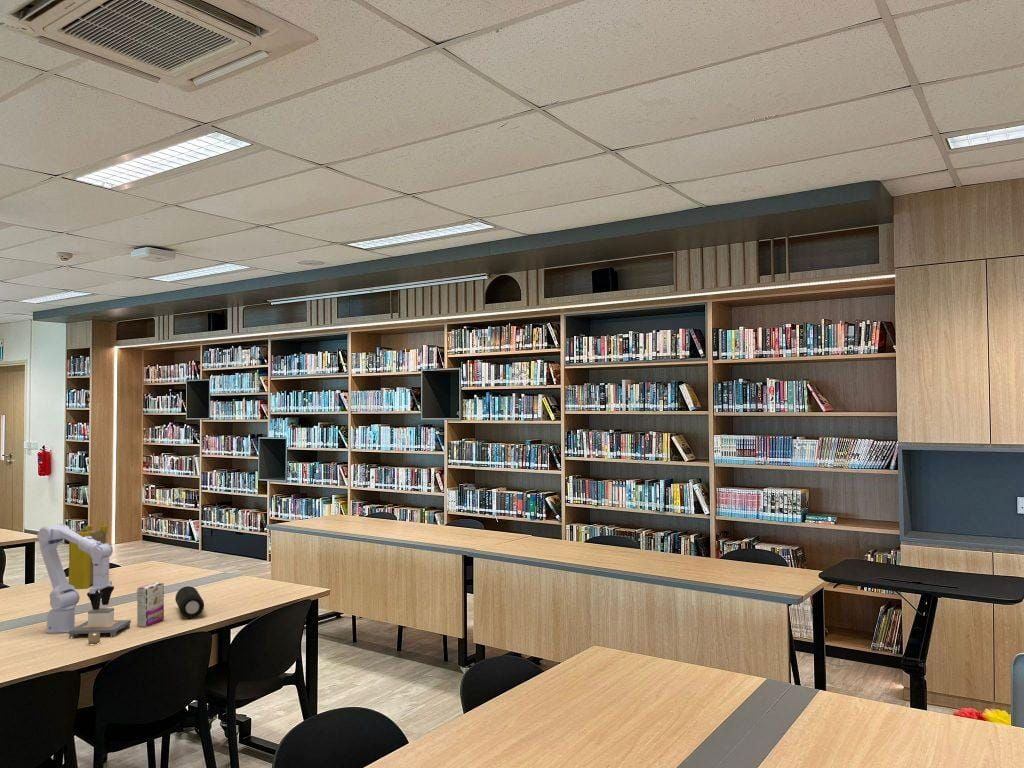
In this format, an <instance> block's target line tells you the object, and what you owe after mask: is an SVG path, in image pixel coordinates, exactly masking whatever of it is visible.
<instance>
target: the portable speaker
mask: <svg viewBox="0 0 1024 768" xmlns="http://www.w3.org/2000/svg"><path fill="white" fill-rule="evenodd" d="M175 603H176V605H177V607H178V609H179V612H180V613H181V615H182V616H183V617H184V618H187V619H195V618H197V617H199V616H200V615H201V614H202V612H203V611H204V609H205V602H204V599H203V598H202V596H201V595H200V593H199V591H198V589H196V588H195V587H193V586H188V585H187V586H184V587H181V588H180V589H179V590H178V591H177V592H176V594H175ZM194 617H195V618H194Z"/></svg>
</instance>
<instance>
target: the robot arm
mask: <svg viewBox="0 0 1024 768" xmlns="http://www.w3.org/2000/svg"><path fill="white" fill-rule="evenodd" d="M76 532H77V531H74V530H72V529H71V528H70V526H69V525H67V524H64V523H59V524H56V525H49V526H42V527H41V528H40V529H39V530H38V532H37V535H36V537H37V541H38V543H39V549H40V553H41V557H42V559H43V561H44V564H45V568H46V571H47V574H48V576H49V580H50V583H51V586H52V588H53V589H52V590H51V592H50V593H49V594H48V595H49V605H50V608H51V609H50V610H49V611H48V613H47V616H46V631H45V634H53V633H54V634H55V633H56V634H57V633H58V634H59V633H62V634H63V633H69V630H71V629H73V628H75V627H77V626H78V625H75V624H76V622H75V620H76V619H75V618H76V617H75V616H76V615H75V614H76V613H75V612H76V607H77V604H79V602H80V598H81V596H80V594H79V592H78V591H77V589H76V588H75V587H74V586H73V585H70V584H69V581H68V579H67V576H66V573H65V571H64V567H63V564H62V561H61V559H60V555H59V552H58V549H57V548H58V546H59V545H60V544H61V543H62V542H63V541H64V540H66V541H68V542H69V541H70V542H73V543H75V544H77V545H78V548H79V549H81V550H83V551H84V552H86V553H88V554H90V556H91V558H92V562H93V584H92V585H91V586H90V587H89V591H88V592H87V594H86V596H87V597H88V599H89V601H90V603H91V604H90V605H91V608H92V609H93V610H99V608H101V605H102V606H108V605H109V603H110V600H111V595H112V593H113V591H114V589H115V586H112V585H113V581H112V580H110V557H111V556H112V554H113V551H114V549H113V547H112V545H111V544H110V543H108V542H107V543H104V544H102V543H101V542H100V541H96V540H94V539H92V537H91V536H86V537H82V536H80V535H79V534H77V533H76Z"/></svg>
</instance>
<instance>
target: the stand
mask: <svg viewBox="0 0 1024 768" xmlns="http://www.w3.org/2000/svg"><path fill="white" fill-rule="evenodd" d="M131 623H132V619H117V620H115V619H114V623H112V624H111V625H109V626H89V627H88V620H86V621H84V622H82V623H81V624H78V625H76V626H77V627H75V628H73V629H71V630H69V632H68V634H69V637H68V638H69V639H72V638H71V637H75V636H77V635H76V634H89V633H92V632H100V634H106V633H107V634H108V633H110V635H109V636H115V635H116V636H117V632H118V631H119V630H121V629H123V628H125V629H129V628H128V627H130V628H131ZM116 636H115V637H116ZM75 638H76V637H75Z"/></svg>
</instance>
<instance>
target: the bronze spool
mask: <svg viewBox="0 0 1024 768" xmlns="http://www.w3.org/2000/svg"><path fill="white" fill-rule="evenodd" d="M87 637H88V642H87V643H88V644H97V643H99V642H100V643H101V633H100V632H92V633H87ZM100 643H99V644H100ZM88 644H87V645H88ZM97 645H98V644H97Z"/></svg>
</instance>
